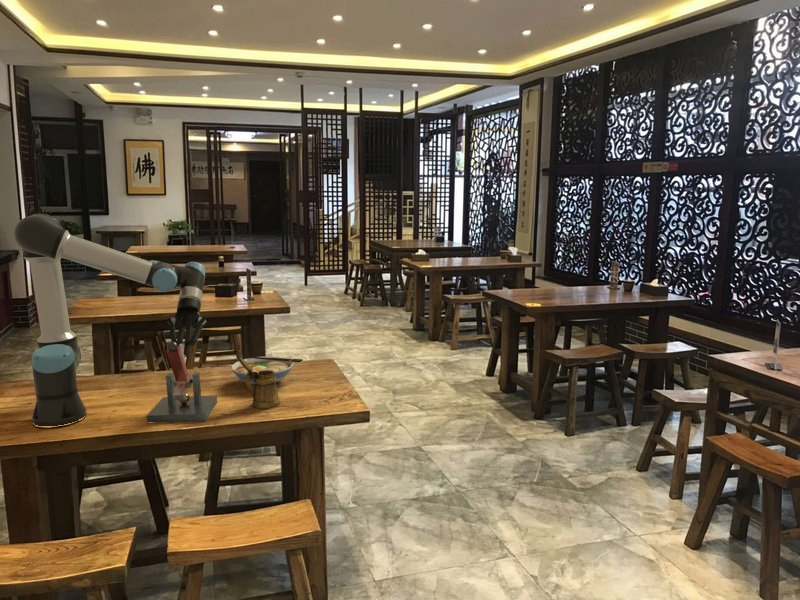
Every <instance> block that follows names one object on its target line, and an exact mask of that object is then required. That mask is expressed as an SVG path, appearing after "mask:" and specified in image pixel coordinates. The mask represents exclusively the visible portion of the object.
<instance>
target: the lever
mask: <svg viewBox="0 0 800 600" xmlns="http://www.w3.org/2000/svg"><path fill="white" fill-rule="evenodd" d="M166 355H167V357H168V361H169V363H170V367H171V369H172V373H173V374H174V381H173V383H174V385H175V393H174V397H175V400H184V399H185V395H186V393H187V391H188V388H189V389H191V388H192V387H193V380H192V374H189V372H188V368H187V366H186V363H185V359H184V358H183V355H182V351H181V348H180V346H178V345H177V343H176V342H171V341H170V342H168V343H167V345H166Z"/></svg>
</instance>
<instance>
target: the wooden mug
mask: <svg viewBox="0 0 800 600" xmlns="http://www.w3.org/2000/svg"><path fill="white" fill-rule="evenodd" d="M236 359H237V360H238V362H240V363H241V364H242V366H243V367H244V368H245V369H246V370H247V371H248V372H247V374H246V376H245V382H244V383H245V386H246V387H247V389H248V391H250V393H251V395H252V405H253V407H254V408H256V409H264V410H265V409H266V408H267V409H271V408H275V407H277V406H279V405H281V401H280V397H279V394H278V388H277V382H276V376H275V375H274V371H271V370H265V371H260V372H258V373H257V371H252V369H251V368H250V366H249V365H248V364H247V363H246V362H245V361H244V359H243V357H241V356H239V355H236ZM253 378H255V379H254V382H255V385H253V384H251V383H250V381H251V380H252V379H253Z"/></svg>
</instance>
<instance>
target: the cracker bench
mask: <svg viewBox="0 0 800 600" xmlns="http://www.w3.org/2000/svg"><path fill="white" fill-rule="evenodd" d="M191 376H192V380H193V383H192V392H193V396H191V395H189V394H188V393H187V392H186V395H185V399H184V400H175V397H174V393H175V389H176V388H175V385H174V383H173V381H174V379H175V377H174V374H173V372H169V373H167V374H166V376H165V382H166V383H165V385H166V392H167V393H166V395H167V396H163V397H162V398H161V399H160V400H159V402H157V404H155V405H154V407H152V409H151V410H150V411H149V412H148V414H146V422H169V423H191V422H193V421H199V422H206V421H207V420H208V419H209V416H210V415H211V413H212V412H211V411H213V410H214V409H215V407H216V406H217V404H218V396H217V395H202V394H201V393H202V391H201V388H202V387H201V378H200V372H196V371H195V372H194V373H192V374H191ZM213 408H214V409H213ZM175 421H177V422H175ZM180 421H181V422H180ZM189 421H191V422H189ZM193 423H194V422H193Z"/></svg>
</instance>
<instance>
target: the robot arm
mask: <svg viewBox="0 0 800 600" xmlns="http://www.w3.org/2000/svg"><path fill="white" fill-rule="evenodd" d="M13 237H14V240H15V241H16V244H17V245H18V246H19V247H20V248H21V250H22V255H23V256H22V257H23V259H24V260H25V261H27V262H29V266H30V271H31V278H32V284H33V291H34V297H35V303H36V308H37V309H36V310H37V315H38V323H39V327H40V336H38V338H37V339H36V343H37V348H36V349H35V350H33V352H32V354H31V361H30V364H31V368H32V374H33V383H34V390H35V391H34V392H35V397H36V398H35V399H36V401H35V404H34V407H33V412H32V416H31V421H32V424H33V423H34V424H35V425H38V426H58V425H64V424H68V423H72V422H75V421H78V420H79V419H81V418H83V417H84V416H85V415H86V416H87V409H86V407H85V404H84V402H83V399H81V397H80V394H79V390H78V381H77V373H76V372H77V369H78V367H79V365H80V363H81V360H82V350H81V349H80V346H79V344H78V339H77V334H76V333H75V332H74V331H72V330H71V325H70V319H69V318H70V317H69V312H68V311H69V310H68V305H67V298H66V292H65V284H64V277H63V270H62V265H61V259H65V260H68V261H70V262H74V263H77V264H80V265H83V266H87V267H90V268H92V269H96V270H100V271H102V272H105V273H109V274H112V275H116V276H118V277H122V278H125V279H128V280H131V281H135V282H137V283H140V284H144V285H147V286H150V287H153V288H155V289H156V290H157V291H160V292H163V293H166V292H170V291H171V290H173V289H174V288H180V289H179V295H178V302H177V308H176V313H175V314H174V316H173V317H171V318H170V317H168V318H166V321H167V323H168V325H169V333H170V342H176V343H177V345H178V346H180V348H181V351H182V355H183V358H184V360H185V357H186V356H188V355H189V353H190V347H191V346H195V345H196V344H197V342H198V340H199V337H200V335H201V332H202V331H203V328H204V326H205V325H206V324H207V320H206V317H204V316H203V317H202V316H201V314H200V313H201V307H202V300H203V299H202V298H203V292H204V286H205V281H206V280H205V279H206V268H205V266H204V265H203V264H201V263H200V262H197V261H193V262H192V261H189V262H187V263H185V264H184V265H183V266H181V265H175V264H172V263H168V262H163V261H160V260H153V259H151V260H146V259H143V258H140V257H138V256H135V255H132V254H128V253H125V252H123V251H119V250H116V249H115V248H111V247H109V246H108V247H107V246H104V245H102V244H100V243H99V244H98V243H96V242H93V241H90V240H87V239H83V238H80V237H78V236H75V235H72V234H70V232H69V230H67V229H64V228H63V226H62V225H61V223H60V222H59V221H58V220H57V219H56V218H55V217H53V216H51V215H49V214H45V213H36V214H35V213H34V214H31V215H29V216H26V217H24V218H22V219H20V220H19V221H18V222H17V223H16V225H15V227H14V231H13ZM176 322H177V323H178V331H177V333H176V327H175V325H176ZM195 325H196V326H195ZM194 326H195V328H194ZM184 335H185V336H184ZM184 337H185V338H184ZM183 342H184V343H183Z"/></svg>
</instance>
